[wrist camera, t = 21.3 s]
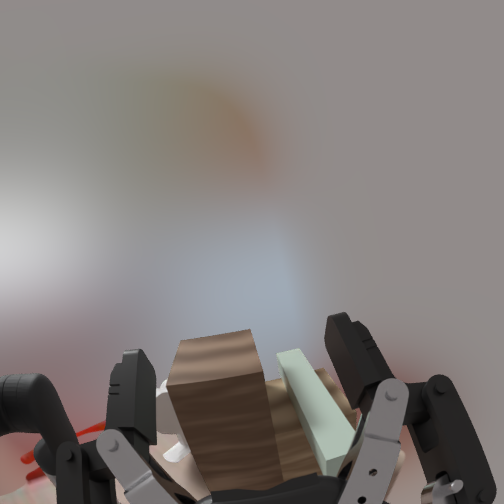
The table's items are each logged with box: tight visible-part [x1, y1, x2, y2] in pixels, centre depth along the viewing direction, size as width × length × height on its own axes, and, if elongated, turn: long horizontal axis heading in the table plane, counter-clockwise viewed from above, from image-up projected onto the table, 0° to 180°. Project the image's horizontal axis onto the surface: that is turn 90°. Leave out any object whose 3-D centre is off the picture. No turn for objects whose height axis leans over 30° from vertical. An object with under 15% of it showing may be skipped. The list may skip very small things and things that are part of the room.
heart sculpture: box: [156, 379, 191, 462], centre depth 54 cm, size 16×5×18 cm, turn 149°
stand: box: [166, 329, 357, 493], centre depth 38 cm, size 14×22×32 cm, turn 96°
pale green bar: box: [276, 348, 355, 477], centre depth 34 cm, size 26×4×4 cm, turn 6°
